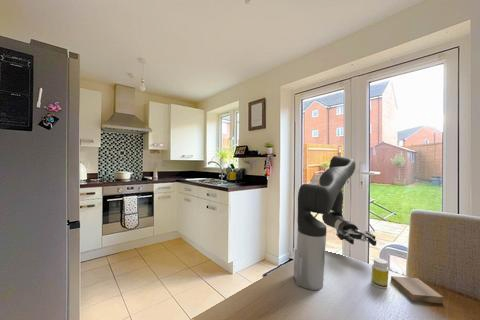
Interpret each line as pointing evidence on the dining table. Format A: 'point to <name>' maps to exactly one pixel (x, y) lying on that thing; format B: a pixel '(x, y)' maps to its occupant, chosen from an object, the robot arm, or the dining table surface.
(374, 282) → the supplement bottle
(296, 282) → the robot arm
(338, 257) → the dining table surface
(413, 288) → the block
